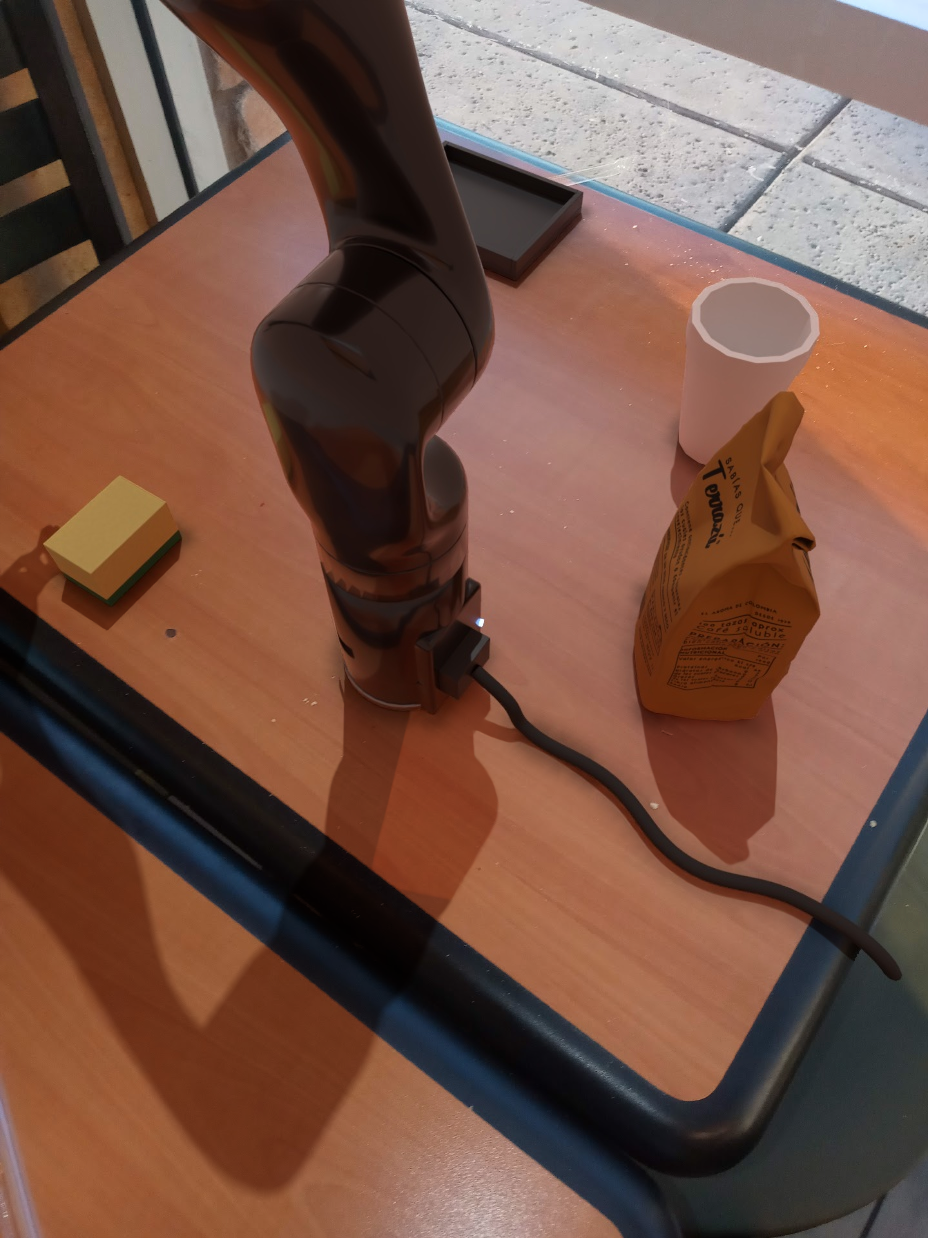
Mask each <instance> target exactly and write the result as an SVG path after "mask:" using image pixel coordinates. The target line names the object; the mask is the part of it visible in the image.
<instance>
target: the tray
mask: <svg viewBox="0 0 928 1238" xmlns="http://www.w3.org/2000/svg"><path fill="white" fill-rule="evenodd" d="M442 145H443V148H444V151H445V154H446V157H447V160H448V163H449V166H450V169H451V172H452V175H453V178H454V181H455V184H456V187H457V190H458V193H459V196H460V199H461V202H462V205H463V208H464V211H465V214H466V217H467V220H468V223H469V226H470V229H471V232H472V235H473V238H474V241H475V245H476V248H477V251H478V254H479V257H480V260H481V263H482V266H483V269H486V270H489V272H490V271H491V272H493V273H495V274H497V275H500V276H503V277H505V278H508V279H510V280H513V281H514V282H516V281H517V280H518V279H519V278H520V277H521V276H522V275H523V274H524V273H525V272H526V271H527V269H529V267H530V266H532V264H533V263H535V261H536V260H537V259H538V258H539V257H540V256H541V255H542V254H543V253H544V252H545V251H546V250H547V248H549V247H550V246H551V244H552V243H553V242H554V241H555V240H556V239H557V238H558V237H559V236H560V235H561V234H562V233H563V232H564V231H565V230H566V229H567V228H568V226H570V225H571V224H572V222H573V221H574V220H575V219H576V218H577V217H578V216H579V215H580V214H581V213H582V208H583V201H584V193H585V192H584V191H582V190H579V189H577V188H574V187H571V186H568V185H566V184H564V183H561V182H558V181H555V180H553V179H550V178H548V177H545V176H542V175H540V174H537V173H535V172H531V171H528V170H526V169H523V168H521V167H517V166H515V165H513V164H509V163H507V162H505V161H501V160H499V159H496V158H494V157H491V156H488V155H485V154H483V153H482V152H481V153H480V152H478V151H475V150H472V149H469V148H467V147H464V146H462V145H459V144H457V143H455V142H454V143H453V142H451V141H450V140H443V141H442Z"/></svg>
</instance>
